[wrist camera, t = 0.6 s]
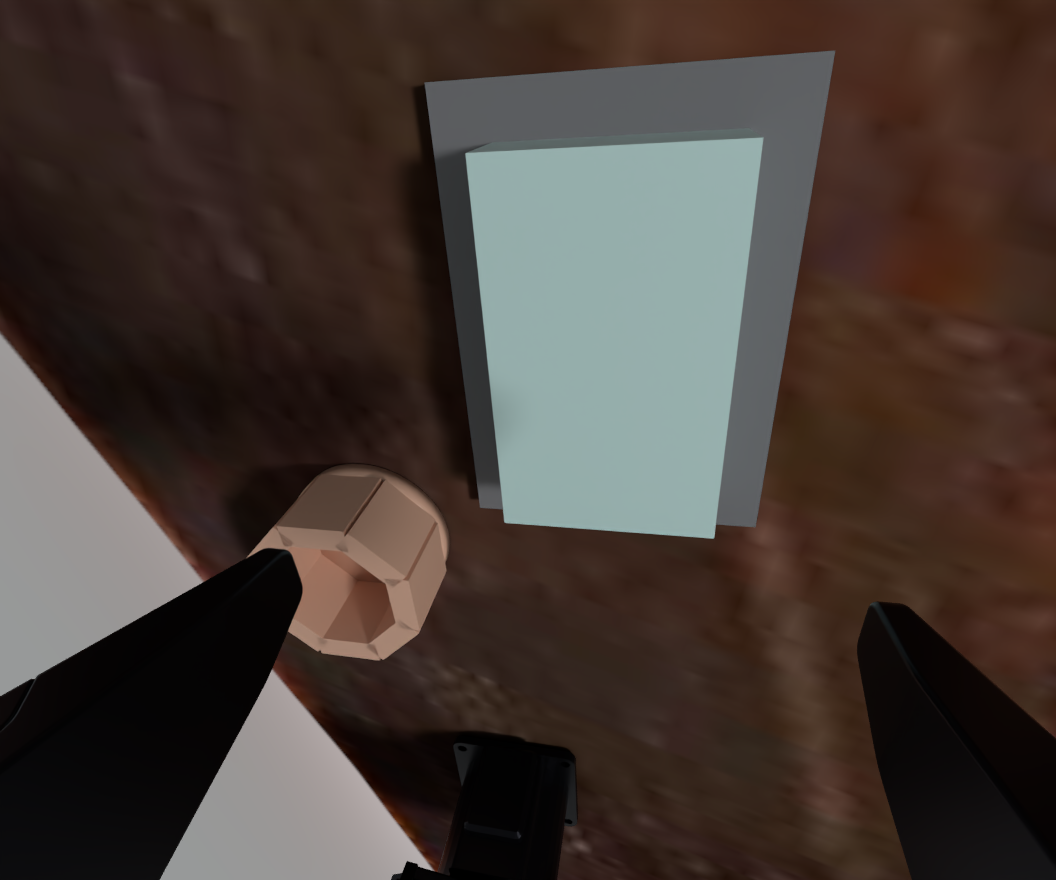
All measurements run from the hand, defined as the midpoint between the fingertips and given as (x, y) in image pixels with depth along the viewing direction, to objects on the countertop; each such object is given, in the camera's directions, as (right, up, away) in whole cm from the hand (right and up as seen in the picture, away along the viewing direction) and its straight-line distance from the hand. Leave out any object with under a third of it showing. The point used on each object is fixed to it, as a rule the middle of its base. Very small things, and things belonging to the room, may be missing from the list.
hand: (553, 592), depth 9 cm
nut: (-7, -1, +16) cm, 18 cm away
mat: (+2, +6, +10) cm, 11 cm away
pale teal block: (+2, +6, +9) cm, 11 cm away
